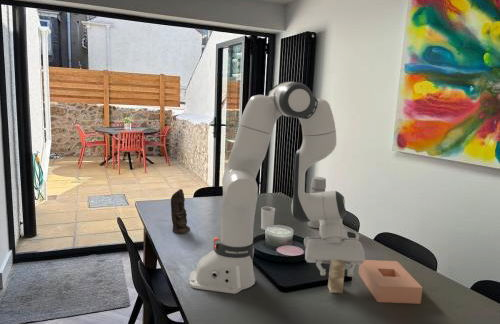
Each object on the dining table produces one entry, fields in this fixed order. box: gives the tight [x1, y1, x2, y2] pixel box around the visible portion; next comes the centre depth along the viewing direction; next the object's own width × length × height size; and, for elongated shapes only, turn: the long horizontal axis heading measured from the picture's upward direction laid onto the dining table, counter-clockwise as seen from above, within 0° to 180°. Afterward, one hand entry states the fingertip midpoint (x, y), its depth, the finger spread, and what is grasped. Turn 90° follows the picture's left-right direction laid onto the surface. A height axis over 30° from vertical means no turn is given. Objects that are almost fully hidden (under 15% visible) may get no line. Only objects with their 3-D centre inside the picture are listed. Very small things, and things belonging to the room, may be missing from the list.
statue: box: [170, 188, 191, 235], centre depth 173 cm, size 7×7×20 cm
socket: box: [357, 259, 423, 305], centre depth 131 cm, size 14×20×6 cm
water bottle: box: [307, 176, 327, 229], centre depth 191 cm, size 9×8×25 cm
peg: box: [327, 260, 346, 294], centre depth 127 cm, size 4×4×10 cm
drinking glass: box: [260, 206, 276, 231], centre depth 184 cm, size 7×7×10 cm
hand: (336, 275), depth 126 cm, fingers open, 8 cm apart
